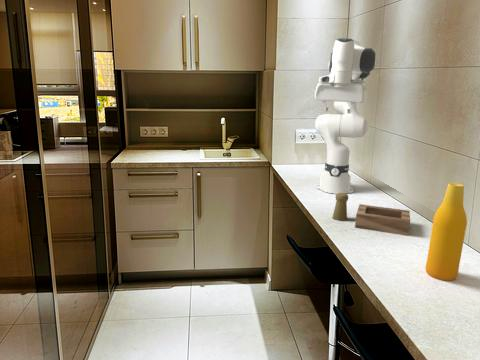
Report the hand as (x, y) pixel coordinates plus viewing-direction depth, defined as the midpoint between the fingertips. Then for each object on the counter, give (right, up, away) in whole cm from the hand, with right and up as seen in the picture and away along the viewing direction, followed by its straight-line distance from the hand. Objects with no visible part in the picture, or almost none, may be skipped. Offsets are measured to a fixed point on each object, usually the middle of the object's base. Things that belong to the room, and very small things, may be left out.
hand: (337, 112), depth 187 cm
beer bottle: (+21, -58, -49) cm, 79 cm away
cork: (+1, -45, -1) cm, 45 cm away
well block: (+16, -47, -7) cm, 50 cm away
